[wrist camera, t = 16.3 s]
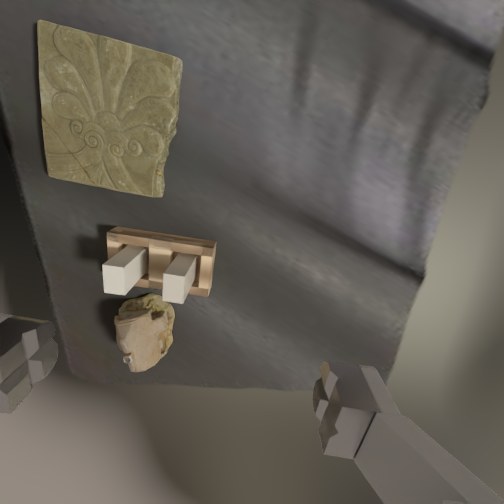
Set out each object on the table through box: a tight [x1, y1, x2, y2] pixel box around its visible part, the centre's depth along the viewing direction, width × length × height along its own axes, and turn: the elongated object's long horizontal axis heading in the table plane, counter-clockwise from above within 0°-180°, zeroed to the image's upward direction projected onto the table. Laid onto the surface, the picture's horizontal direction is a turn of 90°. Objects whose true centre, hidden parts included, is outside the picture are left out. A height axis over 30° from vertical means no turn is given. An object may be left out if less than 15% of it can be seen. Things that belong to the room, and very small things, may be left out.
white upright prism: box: [162, 252, 198, 304], centre depth 42 cm, size 4×3×8 cm, turn 171°
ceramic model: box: [114, 293, 175, 372], centre depth 48 cm, size 14×11×10 cm
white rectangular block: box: [102, 244, 148, 295], centre depth 42 cm, size 4×3×8 cm, turn 172°
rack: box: [107, 226, 216, 297], centre depth 46 cm, size 9×17×4 cm, turn 81°
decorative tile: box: [37, 20, 182, 197], centre depth 38 cm, size 19×20×4 cm
